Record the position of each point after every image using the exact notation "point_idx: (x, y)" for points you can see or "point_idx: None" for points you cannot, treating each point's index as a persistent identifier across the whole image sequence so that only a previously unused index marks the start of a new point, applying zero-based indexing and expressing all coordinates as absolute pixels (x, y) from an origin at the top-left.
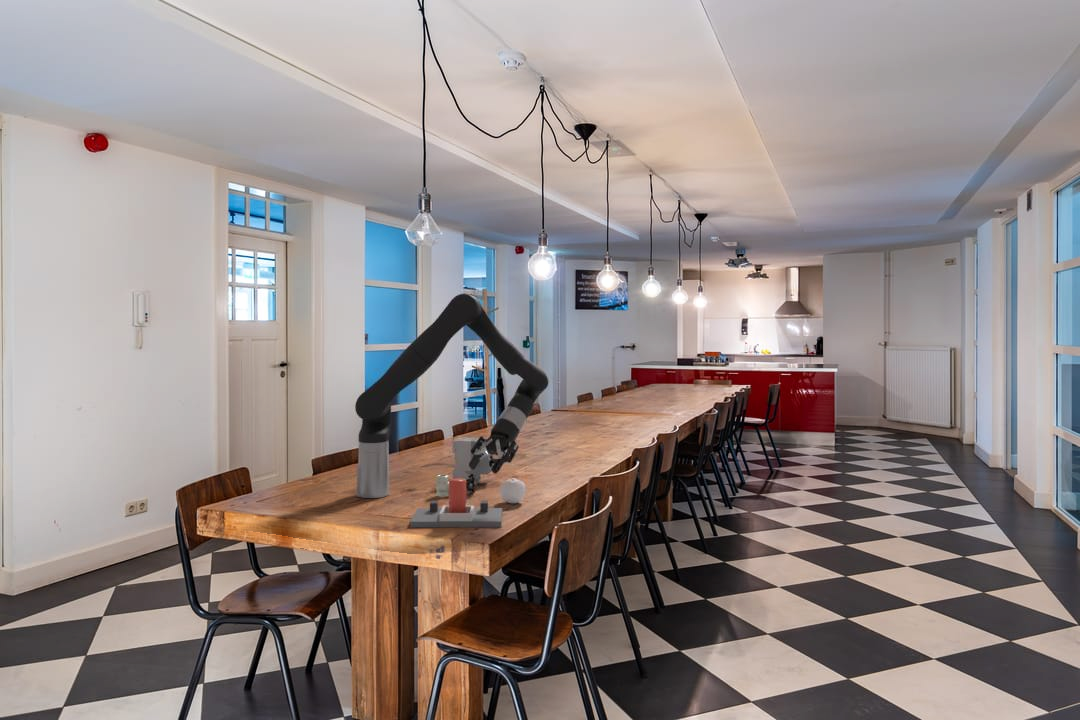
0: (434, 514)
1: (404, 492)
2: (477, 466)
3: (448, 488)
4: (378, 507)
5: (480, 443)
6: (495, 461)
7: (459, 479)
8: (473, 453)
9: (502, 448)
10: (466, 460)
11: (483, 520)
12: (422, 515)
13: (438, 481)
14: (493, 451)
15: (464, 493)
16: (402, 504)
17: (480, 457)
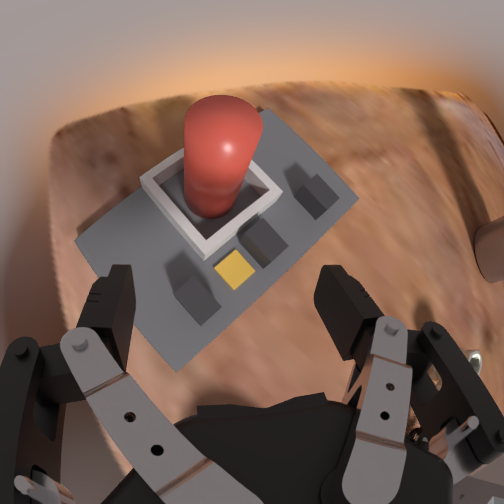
0: (279, 176)
1: (483, 314)
2: (464, 491)
3: (439, 377)
4: (429, 195)
5: (460, 416)
6: (114, 307)
7: (228, 133)
8: (412, 335)
9: (132, 472)
10: (491, 472)
11: (120, 214)
12: (292, 154)
13: (464, 351)
14: (226, 409)
15: (184, 155)
16: (428, 242)
17: (356, 368)
